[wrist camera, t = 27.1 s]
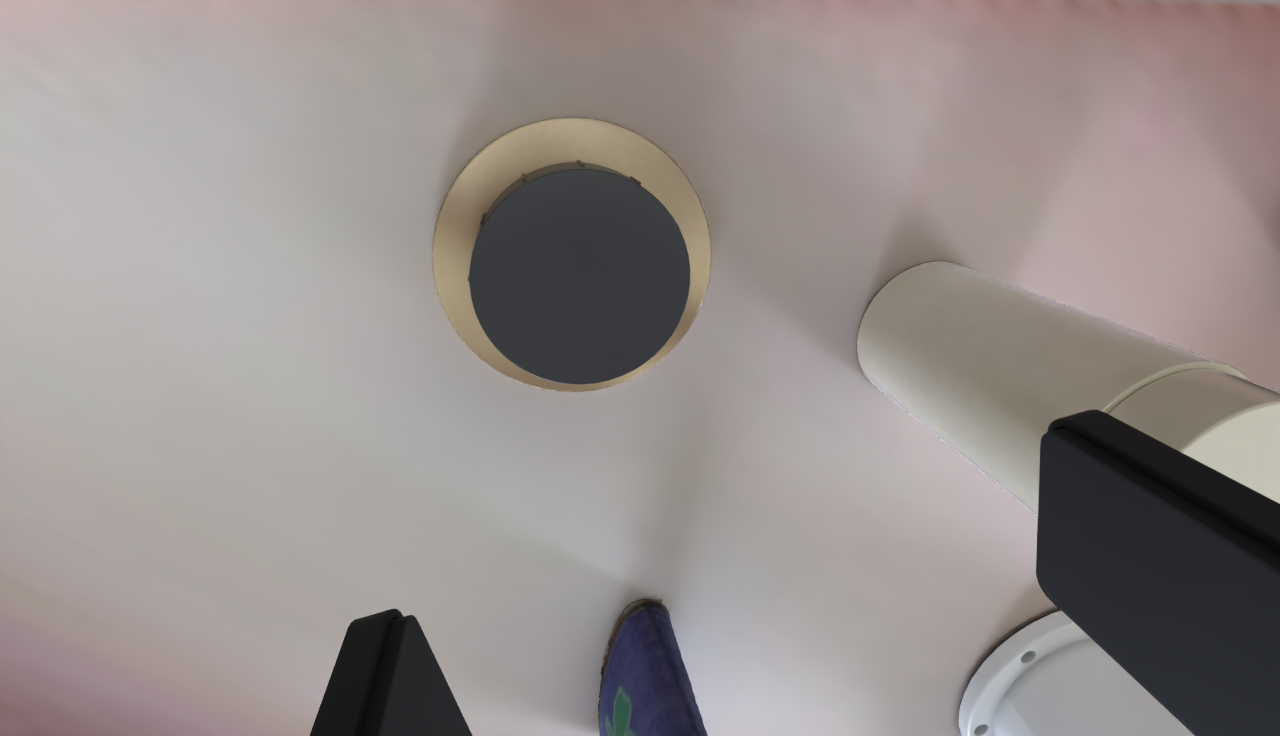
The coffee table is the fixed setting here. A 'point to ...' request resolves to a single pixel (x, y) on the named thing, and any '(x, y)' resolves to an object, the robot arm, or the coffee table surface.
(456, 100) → the coffee table surface
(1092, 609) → the robot arm
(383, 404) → the coffee table surface
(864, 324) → the jar
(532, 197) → the lid
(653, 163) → the coaster
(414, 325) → the coffee table surface
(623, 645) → the flask
